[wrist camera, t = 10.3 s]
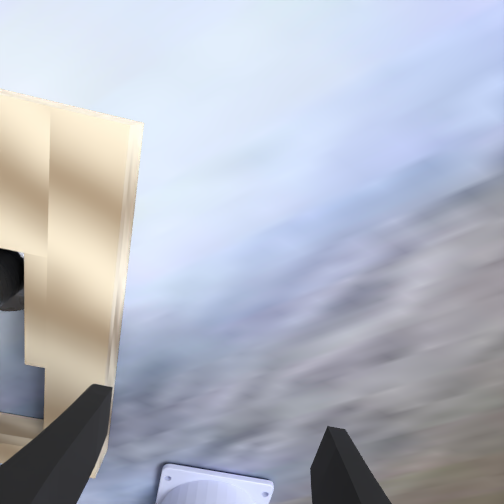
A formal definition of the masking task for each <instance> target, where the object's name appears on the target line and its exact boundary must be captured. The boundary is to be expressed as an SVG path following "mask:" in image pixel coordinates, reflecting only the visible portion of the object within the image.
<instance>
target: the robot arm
mask: <svg viewBox="0 0 504 504" xmlns="http://www.w3.org/2000/svg"><path fill="white" fill-rule="evenodd" d="M112 389H113V387H110V386H104V385H99V384H92V385H90V386H89V387H88V388H87V389H86V390H85V391H84V392H83V393H82V394H81V395H80V396H79V397H78V398H77V399H76V400H75V401H74V402H73V403H72V404H71V405H70V406H69V407H68V408H67V409H66V410H65V411H64V412H63V413H62V414H61V415H60V416H59V417H58V418H56V419H55V420H54V421H53V422H52V423H51V424H50V425H49V426H48V427H46V428H45V429H44V430H43V431H42V432H41V433H40V434H39V435H37V436H36V437H35V438H34V439H33V440H32V441H30V442H29V443H28V444H27V445H25V446H24V447H23V448H22V449H21V450H19V451H18V452H17V453H16V454H14V455H13V456H12V457H11V458H10V459H8V460H7V461H6V462H4V463H3V464H2V465H0V504H76V503H77V501H78V499H79V497H80V495H81V493H82V491H83V489H84V487H85V485H86V483H87V481H88V479H89V477H90V475H91V473H92V471H93V469H94V467H95V465H96V462H97V460H98V457H99V455H100V452H101V450H102V447H103V444H104V442H105V439H106V436H107V434H108V425H109V416H110V407H111V398H112ZM310 470H311V490H312V503H313V504H392V503H391V502H390V501H389V499H388V498H387V496H386V494H385V493H384V491H383V490H382V488H381V487H380V485H379V484H378V482H377V481H376V479H375V477H374V476H373V474H372V473H371V471H370V469H369V468H368V466H367V465H366V463H365V461H364V460H363V458H362V456H361V455H360V453H359V451H358V450H357V448H356V446H355V445H354V443H353V442H352V440H351V438H350V437H349V435H348V433H347V432H346V430H345V429H340V428H335V427H329V426H327V429H326V431H325V434H324V436H323V439H322V441H321V444H320V446H319V449H318V451H317V453H316V456H315V458H314V461H313V463H312V466H311V468H310ZM273 490H274V485H273V482H271V481H269V480H264V479H258V478H252V477H247V476H241V475H235V474H229V473H223V472H217V471H211V470H205V469H199V468H193V467H187V466H181V465H175V464H166V465H164V466H163V468H162V473H161V478H160V483H159V488H158V493H157V498H156V503H155V504H269V501H270V499H271V496H272V493H273Z"/></svg>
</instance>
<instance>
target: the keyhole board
mask: <svg viewBox="0 0 504 504" xmlns="http://www.w3.org/2000/svg"><path fill="white" fill-rule="evenodd" d="M143 127H144V123H142V122H138V121H134V120H130V119H125V118H121V117H117V116H113V115H108V114H104V113H100V112H96V111H92V110H87V109H83V108H79V107H75V106H71V105H66V104H62V103H58V102H54V101H50V100H45V99H41V98H37V97H33V96H28V95H24V94H20V93H16V92H12V91H7V90H3V89H0V248H3V249H8V250H13V251H17V252H22V253H24V335H25V365H31V366H36V367H42V368H45V387H44V420H43V419H37V418H31V417H25V416H19V415H14V414H8V413H2V412H0V463H4V462H6V461H7V460H8V459H10V458H11V457H12V456H13V455H14V454H16V453H17V452H18V451H19V450H21V449H22V448H23V447H24V446H25V445H27V444H28V443H29V442H30V441H32V440H33V439H34V438H35V437H36V436H37V435H39V434H40V433H41V432H42V431H43V430H44V429H45V428H46V427H48V426H49V425H50V424H51V423H52V422H53V421H54V420H55V419H56V418H58V417H59V416H60V415H61V414H62V413H63V412H64V411H65V410H66V409H67V408H68V407H69V406H70V405H71V404H72V403H73V402H74V401H75V400H76V399H77V398H78V397H79V396H80V395H81V394H82V393H83V392H84V391H85V390H86V389H87V388H88V387H89V386H90V385H92V384H99V385H104V386H110V387H113V389H112V398H111V407H110V416H109V425H108V434H107V436H106V439H105V442H104V444H103V447H102V450H101V452H100V455H99V457H98V460H97V462H96V465H95V467H94V469H93V471H92V473H91V475H90V477H89V478H95V477H96V475H97V473H98V470H99V468H100V466H101V463H102V461H103V459H104V456H105V454H106V452H107V448H108V439H109V430H110V421H111V412H112V404H113V395H114V386H115V377H116V368H117V359H118V350H119V341H120V332H121V323H122V314H123V305H124V296H125V288H126V279H127V270H128V261H129V252H130V243H131V234H132V225H133V216H134V207H135V198H136V189H137V181H138V172H139V163H140V154H141V145H142V136H143Z"/></svg>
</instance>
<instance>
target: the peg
mask: <svg viewBox="0 0 504 504" xmlns="http://www.w3.org/2000/svg"><path fill="white" fill-rule="evenodd" d="M23 309H24V253H22V252H17V251H13V250H8V249H3V248H0V310H1V311H18V310H23Z"/></svg>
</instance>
